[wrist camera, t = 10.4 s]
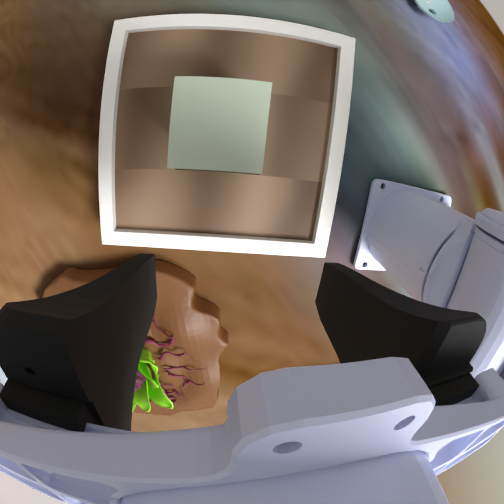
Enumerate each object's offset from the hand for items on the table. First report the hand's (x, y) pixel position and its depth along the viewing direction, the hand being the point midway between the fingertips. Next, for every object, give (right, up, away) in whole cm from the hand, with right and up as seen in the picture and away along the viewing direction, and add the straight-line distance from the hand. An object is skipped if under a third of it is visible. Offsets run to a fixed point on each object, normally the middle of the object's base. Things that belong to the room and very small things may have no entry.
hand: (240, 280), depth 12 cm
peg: (-2, +10, +6) cm, 11 cm away
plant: (-12, -8, +15) cm, 21 cm away
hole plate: (-2, +10, +7) cm, 12 cm away
